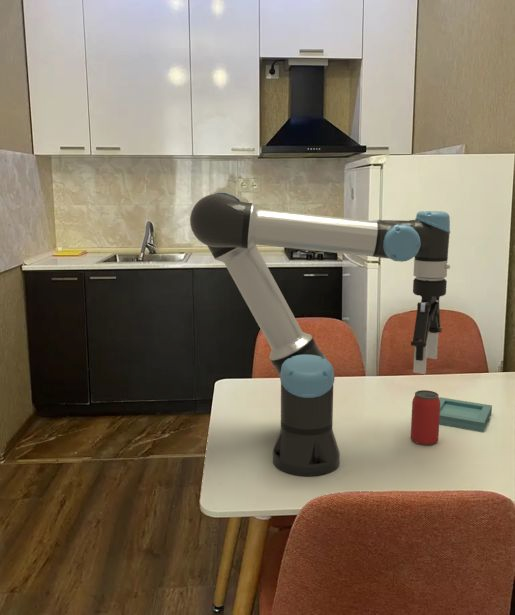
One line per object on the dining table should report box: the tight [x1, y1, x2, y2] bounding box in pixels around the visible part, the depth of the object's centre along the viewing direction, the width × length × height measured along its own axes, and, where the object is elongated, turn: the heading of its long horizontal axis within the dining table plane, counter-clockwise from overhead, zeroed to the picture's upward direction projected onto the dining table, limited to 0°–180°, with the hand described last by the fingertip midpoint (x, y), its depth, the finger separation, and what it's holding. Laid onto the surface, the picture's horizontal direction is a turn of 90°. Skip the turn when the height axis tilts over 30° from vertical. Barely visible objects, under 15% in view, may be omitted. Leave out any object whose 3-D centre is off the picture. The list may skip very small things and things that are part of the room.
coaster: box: [439, 396, 493, 433], centre depth 163 cm, size 14×14×2 cm
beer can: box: [410, 389, 440, 446], centre depth 148 cm, size 7×7×12 cm
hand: (425, 365), depth 146 cm, fingers open, 13 cm apart
